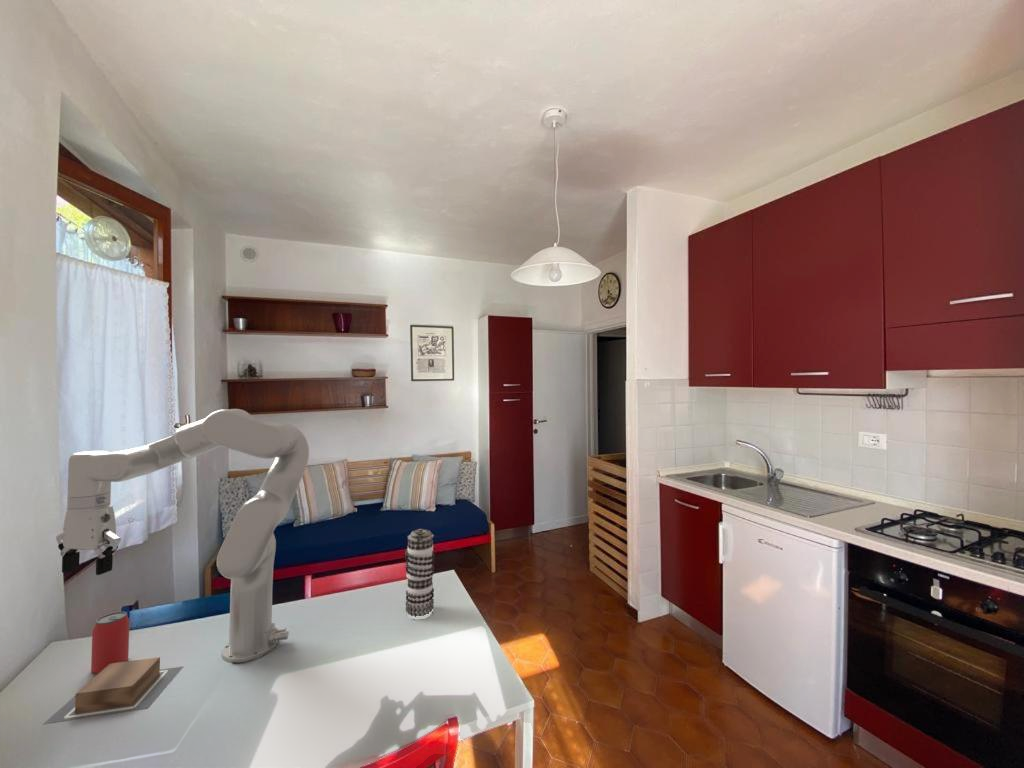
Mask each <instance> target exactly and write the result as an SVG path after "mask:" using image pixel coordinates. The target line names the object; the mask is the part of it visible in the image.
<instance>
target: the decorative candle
mask: <svg viewBox="0 0 1024 768" xmlns="http://www.w3.org/2000/svg"><path fill="white" fill-rule="evenodd" d="M434 537H435V535H434V534H433V533H432V532H431V530H430V529H428V528H427V529H426V528H418V529H414V530H412V531H411V533H410V534H408V535H407V548H406V550H404V552H405V553H404V555H405V556H404V557H405V558H404V559H405V560H406V562H405V572H406V573H405V574H406V575H405V576H406V579H407V585H406V591H405V595H406V596H405V600H406V601H405V613H406V612H407V613H408V614H409V615H411V616H415V617H416V616H424V615H426V614H429V612H431V611H432V609H433V610H434V608H435V607H434V603H435V602H434V601H435V600H434V597H435V595H434V592H435V588H434V583H433V576H434V575H435V568H436V567H435V565H433V564H435V563H436V560H435V557H436V554H435V553H434V552H433V551H435V550H436V547H434V544H433V543H434V540H433V539H434Z"/></svg>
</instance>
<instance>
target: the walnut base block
mask: <svg viewBox="0 0 1024 768" xmlns="http://www.w3.org/2000/svg"><path fill="white" fill-rule="evenodd" d="M160 666H161V657H160V656H159V657H151V658H144V659H137V660H136V659H135V660H127V661H126V662H119V663H111V664H109V665H108V666H107V667H105V668H104V669H103V670H102V671H101V672H100V673H96V675H95V676H94V677H93V678H92V679H90V680H89V681H88V682H87V683H86V684H85V685H83V687H82V688H80V689H79V690H78V691H77V692H76V693H75V695H76V698H75V713H80V712H87V711H93V710H100V709H107V708H114V707H121V706H127V705H132V704H133V703H134V702H135V701H136V700H137V699H138V697H139V696H140V695H141V694H142V693H143V692H144V691H145V690H146V689H147V688H148V686H149V685H150V684H151V683H152V682H153V681H154V680H155V679H156V678H157V677H158V676H159V674H160Z"/></svg>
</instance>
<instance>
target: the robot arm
mask: <svg viewBox="0 0 1024 768" xmlns="http://www.w3.org/2000/svg"><path fill="white" fill-rule="evenodd" d="M222 447H223V448H226V449H230V450H231V451H232V450H233V451H235V452H239V453H242V454H246V455H248V456H252V457H256V458H259V459H265V460H266V459H267V460H270V459H274V460H273V462H272V464H271V465H270V468H269V469H268V471H267V473H266V474H265V475H266V476H265V477H264V480H263V482H262V484H261V486H260V488H259V490H258V492H257V493H256V495H253V497H251V498H250V499H248V500H247V501H246V502H244V504H242V505H241V506H240V508H239V510H238V512H237V513H236V515H235V516H234V518H233V519H232V523H231V525H230V527H229V529H228V531H227V534H226V536H225V538H224V540H223V542H222V543H221V546H220V548H219V551H218V553H217V556H216V567H217V571H218V572H219V574H220V575H221V576H223V578H226V579H228V580H230V595H229V599H230V600H229V601H230V602H229V635H228V637H229V638H228V642H227V644H225V645H224V646H223V648H222V650H221V659H222V660H224V661H226V662H227V663H228V662H229V663H232V664H237V663H244V662H249V661H253V660H255V659H258V658H261V657H262V656H264V655H266V654H268V653H269V652H271V651H272V650H273V649H275V647H276V646H277V644H278V641H284V640H288V638H289V630H287V627H281V628H277V627H276V622H273V584H274V580H273V579H274V564H275V557H276V549H277V540H276V537H275V533H274V532H275V530H276V528H277V526H278V525H279V524H280V523H282V522H283V521H284V519H285V518H286V516H287V514H288V512H289V510H290V506H291V504H292V502H293V499H294V497H295V495H296V493H297V490H298V489H299V486H300V483H301V481H302V479H303V476H304V473H305V471H306V468H307V466H308V462H309V456H310V447H309V443H308V440H307V439H306V436H305V435H304V433H303V432H302V431H301V430H300V429H299V428H297V427H296V426H295V425H292V424H291V423H284V422H282V423H280V422H279V423H274V424H267V423H264V422H260V421H257V420H255V419H253V416H252V415H251V414H250V413H249V412H247V411H246V410H244V409H240V408H230V409H226V408H225V409H218V410H216V411H213V412H211V413H210V414H209V415H207V416H206V417H205V418H203V419H200V420H198V421H195V422H191V423H188V424H185V425H184V426H180V427H179V428H177V429H176V430H175V433H173V434H172V435H170V436H168V437H165V438H162V439H159V440H157V441H155V442H151V443H149V444H146V445H142V446H139V447H133V448H128V449H122V450H119V451H112V452H110V451H108V450H86V451H80V452H79V451H78V452H75V453H73V454H71V455H70V456H69V458H68V463H67V464H68V465H67V466H68V468H67V494H66V512H65V516H64V522H63V530H62V533H60V534H58V535H56V537H55V539H56V541H57V544H58V545H57V547H58V550H60V556H61V558H62V560H61V573H68V572H71V571H73V570H74V571H75V570H77V569H79V567H80V555H81V554H80V553H81V552H80V551H81V550H82V551H83V550H84V551H94V552H95V554H96V555H97V556H98V557H97V558H96V559H95V575H96V576H101V575H103V574H106V573H108V572H111V571H112V570H113V563H114V562H113V559H114V558H113V556H114V554H115V553H116V551H117V550H118V548H119V544H120V543H121V540H122V538H121V537H120V536H118V535H117V527H116V526H117V524H116V517H115V516H116V515H115V510H114V506H113V505H112V504H111V499H112V498H111V497H112V494H111V493H112V482H113V483H117V482H118V483H119V482H125V481H129V480H132V479H135V478H138V477H142V476H145V475H149V474H151V473H154V472H157V471H160V470H162V469H165V468H168V467H171V466H173V465H175V464H178V463H180V462H183V461H185V460H191V459H193V458H197V457H199V456H200V455H204V454H207V453H209V452H212V451H213V450H217V449H219V448H222ZM103 549H104V550H103ZM78 550H80V551H78Z"/></svg>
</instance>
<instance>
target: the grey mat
mask: <svg viewBox="0 0 1024 768" xmlns="http://www.w3.org/2000/svg"><path fill="white" fill-rule="evenodd" d="M183 668H184V666H175V667H170V668H161V669H160V674H159V676H158V677H157V678H156V679H155V680H154V681H153V682H152V683H151V684H150V685H149V686H148V688H147V689H146V690H145V691H144V692H143V693H142V694H141V695H140V696H139V697H138V699H137V700H136V701H135V702H134V703H133V704H132V705H127V706H121V707H114V708H107V709H100V710H93V711H87V712H80V713H75V698H76V694H75V695H74V696H73V697H72V698H71V699H69V700H68V701H67V702H66V703H65V704H64V705H63V706H62V707H60V708H59V709H58V710H57V711H56V712H55V713H54V714H53V715H51V716H50V717H49V718H48V719H47V720H46V721H45V722H44V723H43V725H48V724H49V725H50V724H55V723H62V722H68V721H75V720H81V719H89V718H95V717H96V718H97V717H102V716H107V715H115V714H120V713H129V712H134V711H140V710H141V711H142V710H148V709H149V708H150V707H151V706H152V704H153V703H154V702H155V701H156V699H158V697H159V696H160V695H161V694H162V693H163V692H164V690H165V689H166V688H167V687H168V685H169V684H171V682H172V681H173V680H174V678H175V677H177V675H178V674H179V673H180V671H181V670H182V669H183Z"/></svg>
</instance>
